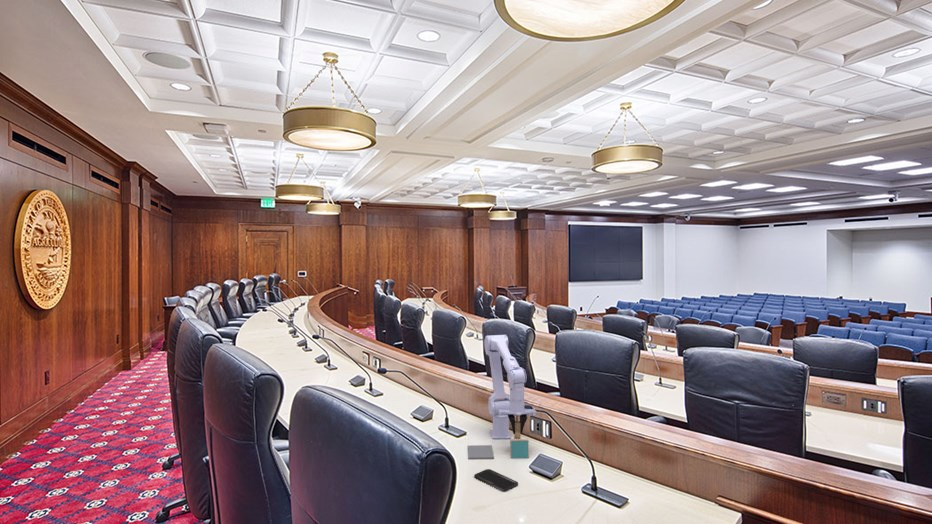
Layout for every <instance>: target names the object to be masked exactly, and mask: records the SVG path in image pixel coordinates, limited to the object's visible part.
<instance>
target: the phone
mask: <svg viewBox="0 0 932 524" xmlns="http://www.w3.org/2000/svg"><path fill="white" fill-rule="evenodd" d="M473 478H474V479H475V478H476V480H477V479H478V480H477V481H479V480H480V481H479V482H481V481H482V482H481V483H483V482H484V483H483V484H485V483H486V484H485V485H487V486H489V485H490V486H489V487H491V486H492V487H491V488H493V487H494V489H495V488H496V489H495V490H497V489H498V490H497V491H499V492H502V493H506V492H508V491H511V490H512V489H514V488H516V487H518V486H519V482H518V481H517V480H515V479H512V478H510V477H508V476H506V475H504V474H501V473H499V472H497V471H494V470H493V469H490V468H486V469H484V470H482V471H480V472H479V471H478V472H476V473H475V474H473Z"/></svg>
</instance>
